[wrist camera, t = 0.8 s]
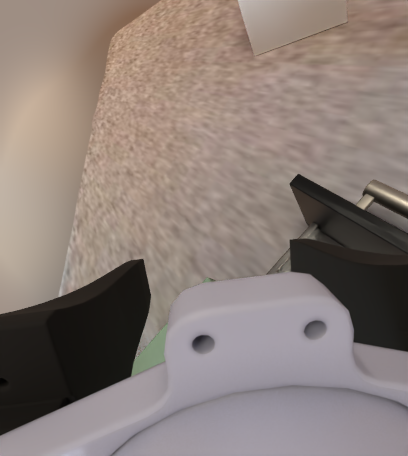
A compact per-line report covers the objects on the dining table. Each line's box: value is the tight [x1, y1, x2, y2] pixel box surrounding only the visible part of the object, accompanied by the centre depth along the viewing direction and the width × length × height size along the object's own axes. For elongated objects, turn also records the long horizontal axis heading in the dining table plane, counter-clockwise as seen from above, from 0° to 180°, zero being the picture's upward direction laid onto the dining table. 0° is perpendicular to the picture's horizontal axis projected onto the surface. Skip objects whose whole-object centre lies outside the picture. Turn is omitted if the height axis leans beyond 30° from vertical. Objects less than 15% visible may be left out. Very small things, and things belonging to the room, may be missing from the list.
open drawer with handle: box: [266, 174, 408, 275], centre depth 19 cm, size 13×18×8 cm
